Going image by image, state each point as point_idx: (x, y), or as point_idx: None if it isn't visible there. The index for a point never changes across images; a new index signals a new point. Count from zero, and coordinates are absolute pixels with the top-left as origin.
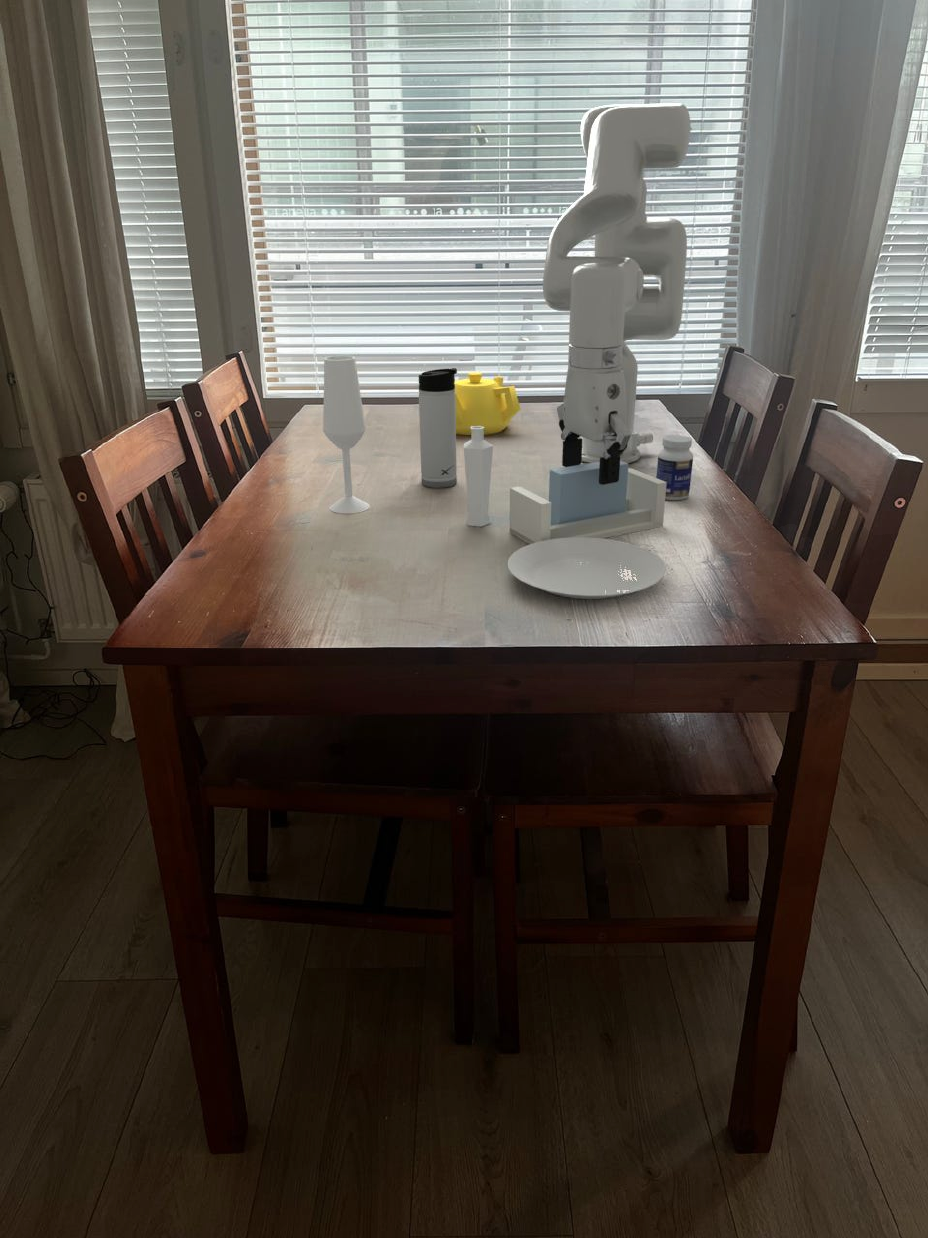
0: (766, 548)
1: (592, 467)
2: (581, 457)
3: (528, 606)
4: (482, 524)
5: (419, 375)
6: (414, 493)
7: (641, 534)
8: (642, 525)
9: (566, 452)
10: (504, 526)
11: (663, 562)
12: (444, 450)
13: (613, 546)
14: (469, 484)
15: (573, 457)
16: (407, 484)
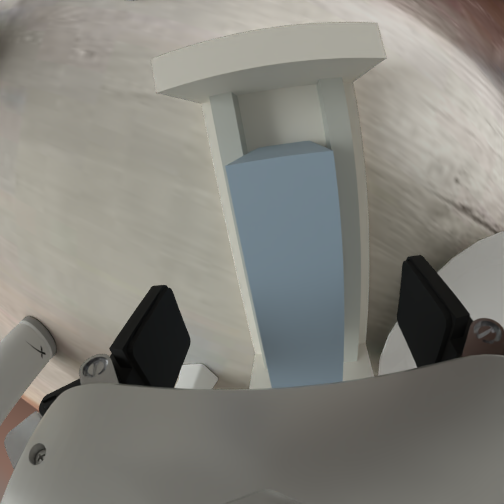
0: (489, 4)
1: (319, 329)
2: (161, 300)
3: None
4: (216, 379)
5: None
6: (77, 373)
7: (377, 136)
8: (358, 119)
9: (176, 376)
10: (226, 355)
11: None
12: (25, 372)
13: (453, 267)
14: None
15: (172, 335)
16: (50, 362)
